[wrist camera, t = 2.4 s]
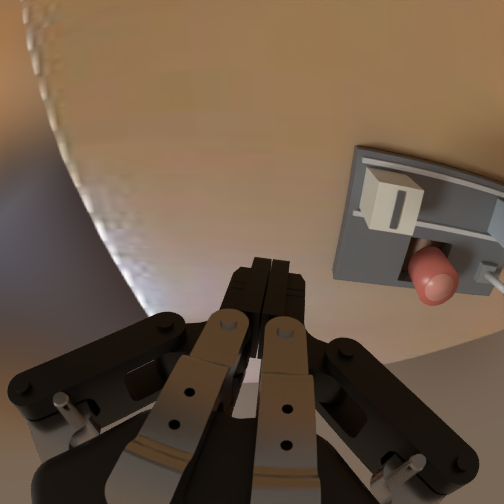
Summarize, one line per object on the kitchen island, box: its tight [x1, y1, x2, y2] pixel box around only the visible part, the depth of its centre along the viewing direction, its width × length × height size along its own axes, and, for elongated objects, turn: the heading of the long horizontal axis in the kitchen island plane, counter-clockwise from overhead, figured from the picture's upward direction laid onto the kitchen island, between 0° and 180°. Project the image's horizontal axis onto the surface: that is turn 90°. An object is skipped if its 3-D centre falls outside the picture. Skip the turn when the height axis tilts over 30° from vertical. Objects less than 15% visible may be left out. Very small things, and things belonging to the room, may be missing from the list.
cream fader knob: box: [359, 167, 424, 236], centre depth 24 cm, size 4×4×5 cm
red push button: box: [408, 246, 459, 306], centre depth 27 cm, size 5×5×4 cm
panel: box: [332, 146, 504, 296], centre depth 26 cm, size 22×14×7 cm, turn 87°
